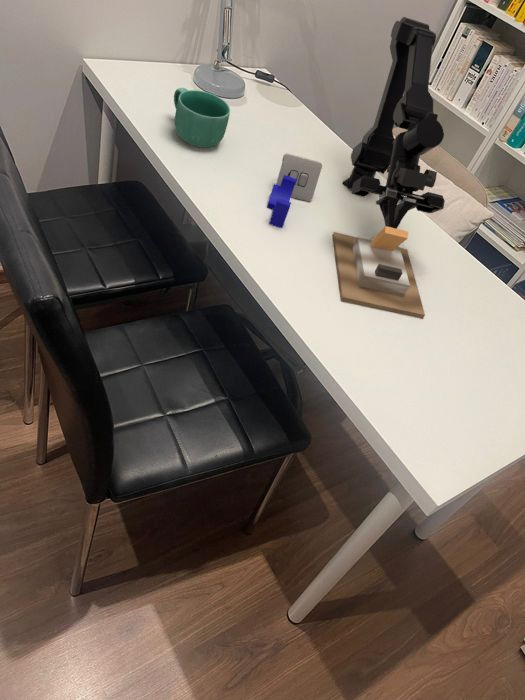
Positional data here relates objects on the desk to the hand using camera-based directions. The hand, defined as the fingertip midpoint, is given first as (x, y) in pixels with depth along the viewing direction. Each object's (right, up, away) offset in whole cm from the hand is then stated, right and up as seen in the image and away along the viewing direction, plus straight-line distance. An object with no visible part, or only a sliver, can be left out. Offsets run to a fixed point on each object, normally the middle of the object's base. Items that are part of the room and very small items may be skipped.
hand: (390, 235), depth 120 cm
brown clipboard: (-2, -8, +4) cm, 9 cm away
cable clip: (-24, +7, +11) cm, 27 cm away
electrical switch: (-20, +14, +18) cm, 30 cm away
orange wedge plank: (0, -1, 0) cm, 1 cm away
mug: (-44, +29, +23) cm, 58 cm away
